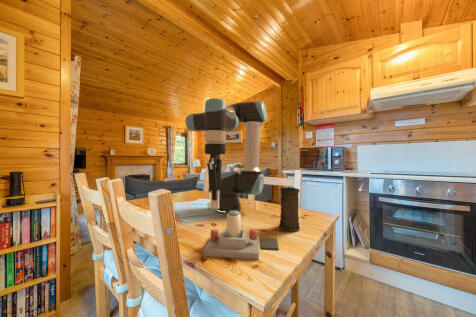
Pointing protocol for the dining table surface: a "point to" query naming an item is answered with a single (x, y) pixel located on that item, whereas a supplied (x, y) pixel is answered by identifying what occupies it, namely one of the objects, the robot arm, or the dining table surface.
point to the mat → (269, 243)
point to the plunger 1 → (214, 234)
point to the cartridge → (234, 224)
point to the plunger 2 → (253, 234)
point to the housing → (233, 246)
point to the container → (289, 210)
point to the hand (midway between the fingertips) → (215, 208)
